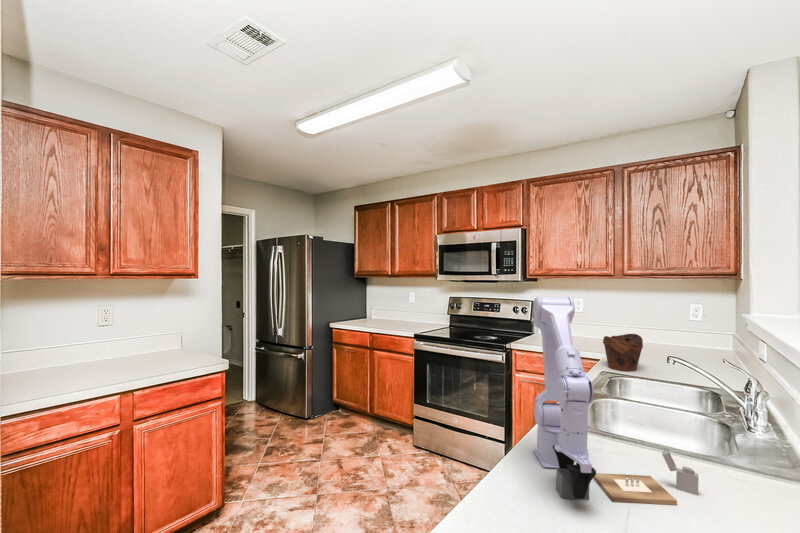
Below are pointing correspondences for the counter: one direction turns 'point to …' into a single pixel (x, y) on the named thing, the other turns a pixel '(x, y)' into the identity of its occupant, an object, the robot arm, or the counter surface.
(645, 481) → the board
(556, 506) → the counter surface
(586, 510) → the counter surface
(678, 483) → the lighter
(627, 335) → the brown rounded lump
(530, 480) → the counter surface
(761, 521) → the counter surface
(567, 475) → the block
